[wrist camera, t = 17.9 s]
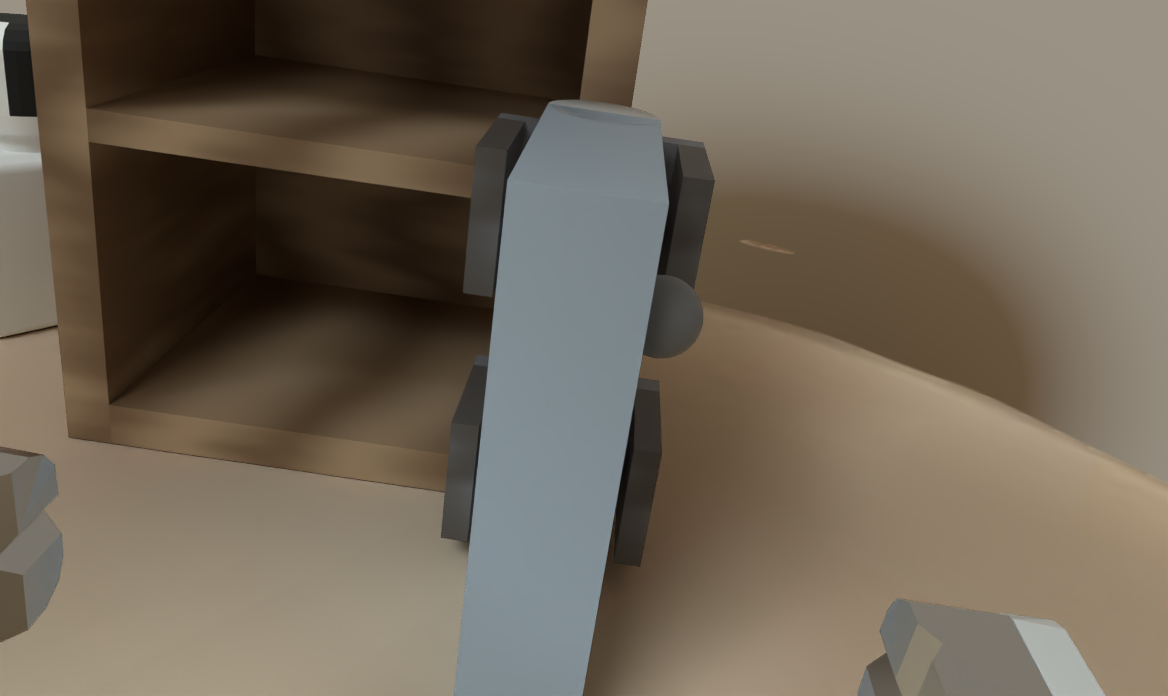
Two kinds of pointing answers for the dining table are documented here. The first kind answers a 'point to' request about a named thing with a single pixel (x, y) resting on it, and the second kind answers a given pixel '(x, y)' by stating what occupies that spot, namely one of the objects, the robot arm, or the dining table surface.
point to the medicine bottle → (22, 191)
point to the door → (564, 390)
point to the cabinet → (315, 223)
